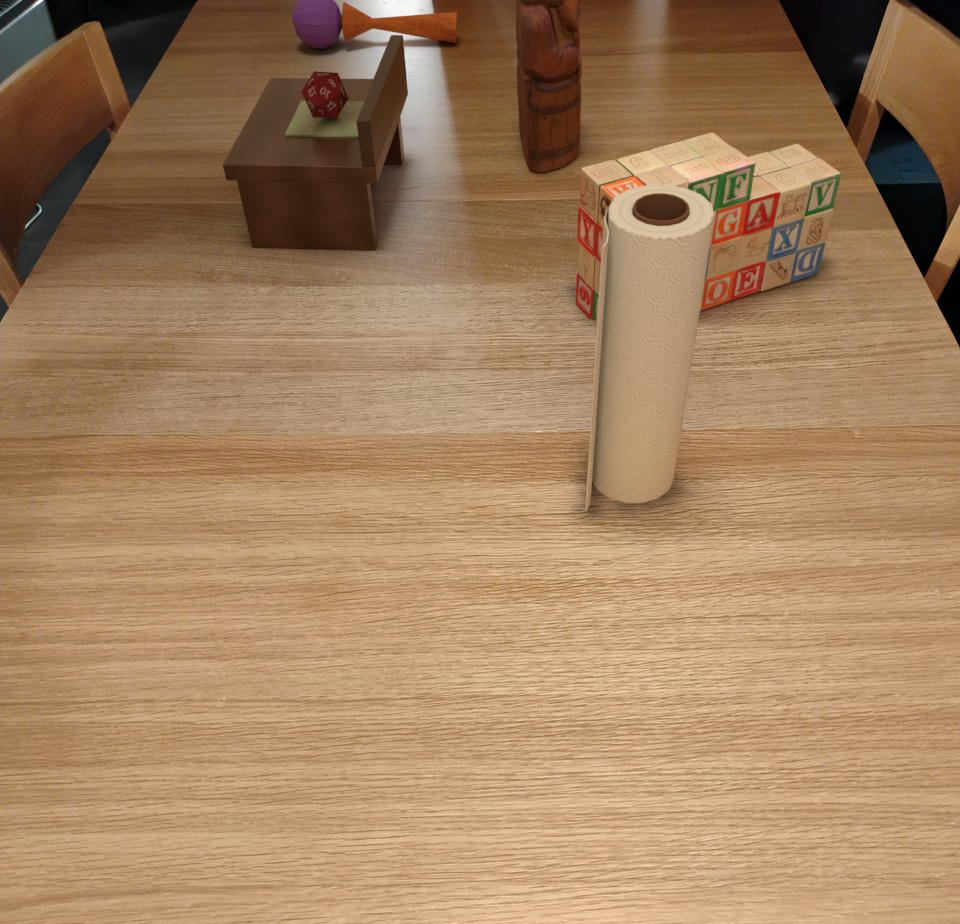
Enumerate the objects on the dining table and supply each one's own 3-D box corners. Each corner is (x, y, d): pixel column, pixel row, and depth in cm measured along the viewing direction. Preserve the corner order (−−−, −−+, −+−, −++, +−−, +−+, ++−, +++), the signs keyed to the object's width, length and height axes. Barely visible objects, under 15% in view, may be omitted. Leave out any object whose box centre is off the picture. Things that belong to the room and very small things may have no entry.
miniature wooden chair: (241, 247, 96) (211, 118, 87) (285, 156, 107) (261, 34, 98) (385, 250, 95) (369, 120, 85) (413, 158, 106) (403, 34, 96)
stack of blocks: (778, 242, 93) (807, 105, 83) (819, 276, 89) (854, 136, 80) (573, 303, 88) (579, 165, 78) (607, 341, 84) (618, 201, 75)
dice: (354, 108, 95) (348, 63, 92) (340, 129, 93) (333, 84, 90) (317, 105, 96) (310, 60, 93) (301, 126, 93) (294, 81, 90)
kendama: (456, 17, 119) (287, 8, 118) (455, 66, 124) (293, 58, 124) (457, -12, 122) (292, -21, 121) (456, 37, 127) (298, 29, 126)
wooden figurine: (584, 172, 103) (593, -28, 88) (522, 176, 103) (521, -24, 88) (571, 120, 110) (578, -73, 96) (513, 124, 110) (511, -69, 96)
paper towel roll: (658, 453, 75) (696, 174, 59) (682, 508, 72) (730, 227, 55) (565, 467, 75) (576, 189, 58) (584, 523, 71) (602, 243, 54)
